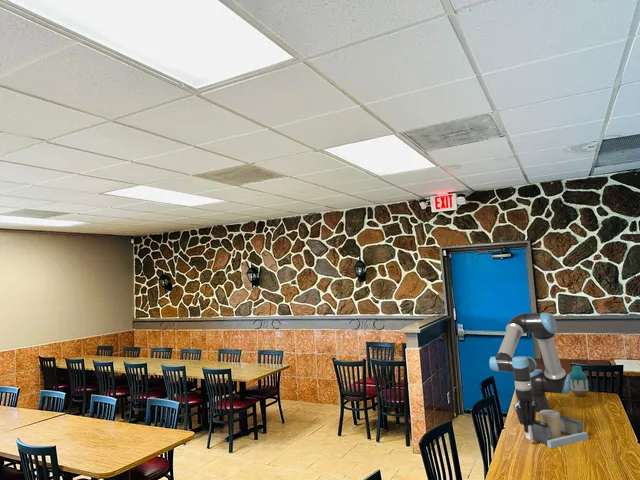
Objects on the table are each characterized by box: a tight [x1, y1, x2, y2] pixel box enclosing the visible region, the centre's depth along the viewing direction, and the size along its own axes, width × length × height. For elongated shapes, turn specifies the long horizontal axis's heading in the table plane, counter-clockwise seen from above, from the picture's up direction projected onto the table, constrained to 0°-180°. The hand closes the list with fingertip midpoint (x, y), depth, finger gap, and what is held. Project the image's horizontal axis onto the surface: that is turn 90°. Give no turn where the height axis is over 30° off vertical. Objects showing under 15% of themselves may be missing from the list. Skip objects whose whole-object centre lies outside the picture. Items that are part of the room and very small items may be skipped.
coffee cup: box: [538, 409, 562, 439], centre depth 221 cm, size 9×9×12 cm
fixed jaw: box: [560, 415, 584, 436], centre depth 220 cm, size 11×4×8 cm, turn 19°
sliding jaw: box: [532, 419, 553, 445], centre depth 214 cm, size 11×4×10 cm, turn 19°
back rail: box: [546, 431, 589, 449], centre depth 210 cm, size 2×24×3 cm, turn 109°
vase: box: [569, 365, 590, 397], centre depth 291 cm, size 11×11×19 cm
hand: (529, 438), depth 211 cm, fingers closed
